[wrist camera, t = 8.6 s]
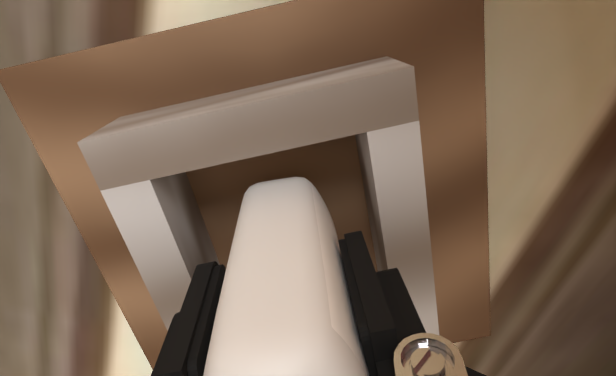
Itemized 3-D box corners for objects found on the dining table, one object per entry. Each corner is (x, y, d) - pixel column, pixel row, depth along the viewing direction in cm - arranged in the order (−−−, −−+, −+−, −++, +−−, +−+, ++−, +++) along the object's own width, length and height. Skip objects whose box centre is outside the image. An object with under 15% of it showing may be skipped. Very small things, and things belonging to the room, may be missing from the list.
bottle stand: (23, 65, 14) (-88, 85, 10) (462, -38, 13) (541, -63, 9) (176, 373, 20) (148, 463, 16) (476, 313, 20) (526, 391, 16)
